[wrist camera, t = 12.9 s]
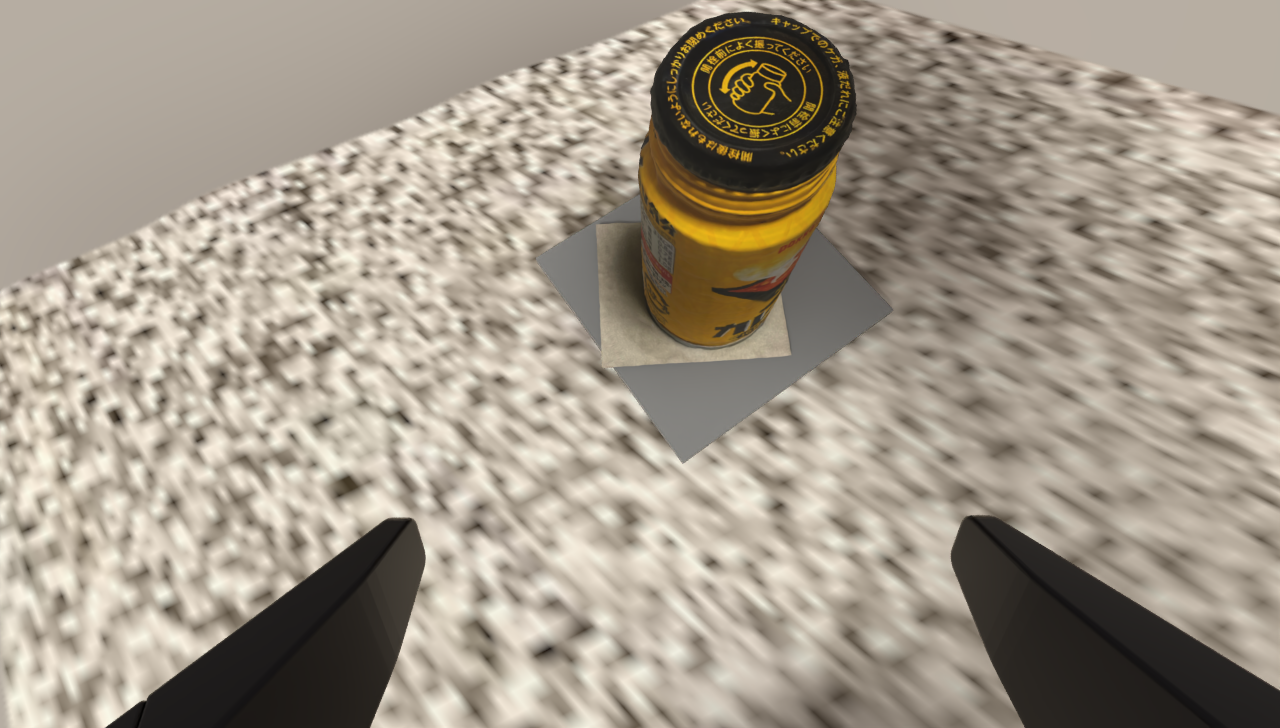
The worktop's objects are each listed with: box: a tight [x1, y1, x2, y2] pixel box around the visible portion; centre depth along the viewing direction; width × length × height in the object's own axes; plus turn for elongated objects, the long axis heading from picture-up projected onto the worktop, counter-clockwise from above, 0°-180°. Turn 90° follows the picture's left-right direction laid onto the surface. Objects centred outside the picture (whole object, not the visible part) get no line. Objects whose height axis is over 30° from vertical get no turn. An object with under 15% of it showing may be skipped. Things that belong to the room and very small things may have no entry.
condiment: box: [596, 12, 857, 368], centre depth 19 cm, size 7×8×12 cm
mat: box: [536, 194, 893, 464], centre depth 25 cm, size 12×12×1 cm
